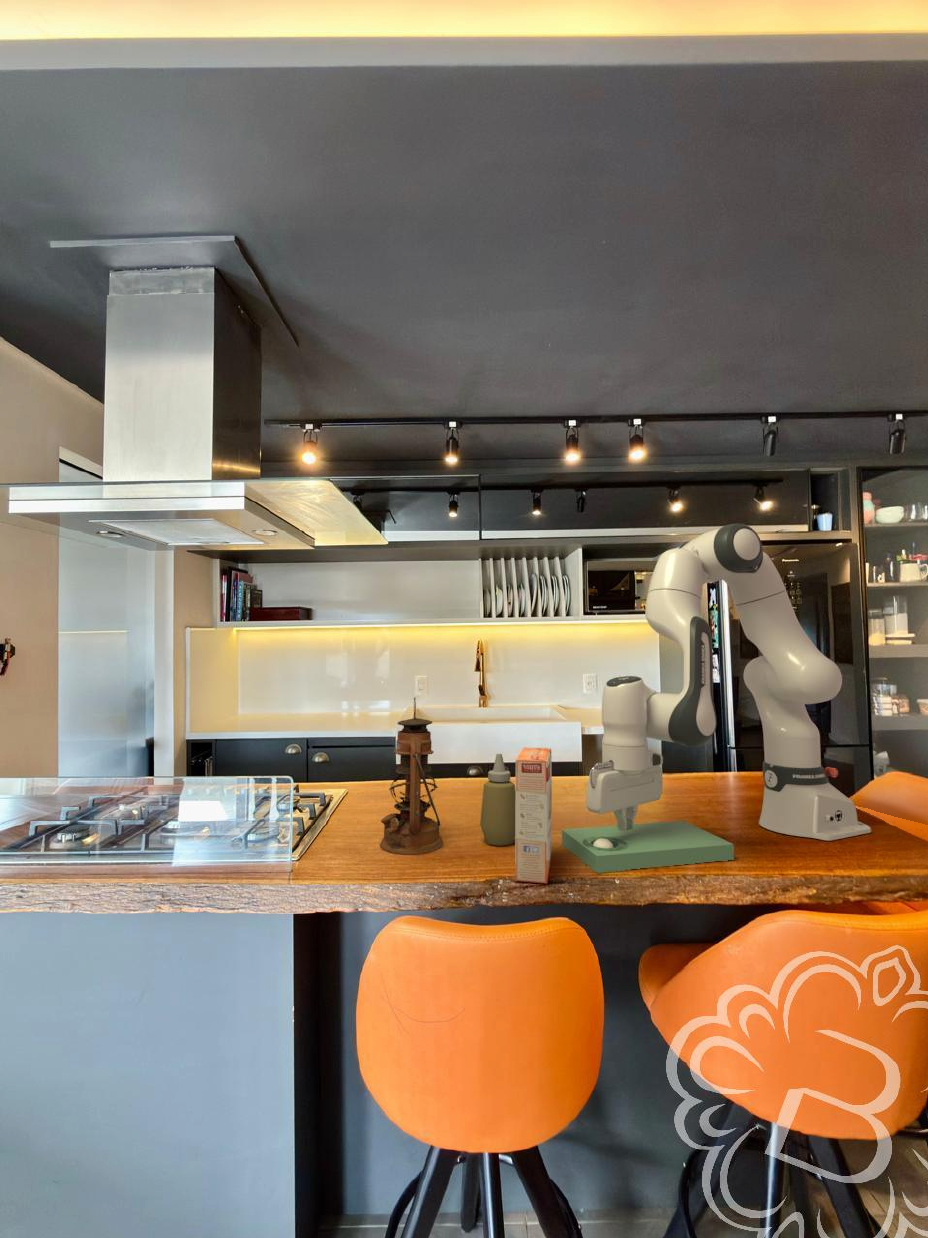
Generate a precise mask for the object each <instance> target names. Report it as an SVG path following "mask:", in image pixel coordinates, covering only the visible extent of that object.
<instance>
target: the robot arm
mask: <svg viewBox="0 0 928 1238" xmlns="http://www.w3.org/2000/svg"><path fill="white" fill-rule="evenodd" d="M718 581H724V582H725V583H726V585H727V586H728V588H729V592H730V596H731V599H732V602H733V606H734V608H735V611H736V613H737V616H738V619H739V623H740V624H741V627H742V630H743V633H744V636H746V639H748V640H749V641H750V642H751V643H752V644H754V645H755V646H756V647H757V649H758V650H759V652H760V653H761V654H762V655H760V656H758V657H755V658H752V660H750V661H749V662H748V663H747V664H746V665H745V668H744V671H743V682H744V684H745V686H746V688H747V689H748V690H749V691H750V693H751V695H752V697H753V698H754V701H755V706H756V708H757V711H758V713H759V717H760V721H761V725H762V733H763V734H762V735H763V751H764V760H763V762H762V777H763V782H764V790H763V798H762V799H763V801H762V808H761V811H760V812H761V813H760V817H759V820H758V825H759V826H761V827H763V828H764V829H767V830H769V831H772V832H776V833H779V834H782V835H783V834H785V835H789V836H795V837H803V838H810V839H811V838H812V839H816V840H817V839H818V840H822V841H827V842H828V841H829V842H830V841H836V840H840V839H845V838H849V837H851V838H852V837H855V836H859V835H864V834H865V835H866V834H869V833H872V828H871V827H870V826H869V825H867V824H866V823H863V822H861V821H858V813H857V808H856V805H855V804H854V802H853V801H852V800H851V799H850V798H849V797H847V795H845V794H844V793H842V792H841V791H840V790H838V789H837V788H836V787H835V786H833V785H832V784H831V783H830V780H829V778H828V777H832V778H837V777H838V776H839V770H838V768H835V767H830V766H826V767H823V765H822V759H821V735H820V730H819V729H818V727H817V726H816V724H815V723H814V722H813V721H812V719H811V718H810V715H809V713H808V711H807V707H806V706H805V705H813V704H819V703H824V702H828V701H831V700H833V699H834V698H835V697H836V696H837V695H838V694H839V692H840V690H841V688H842V684H843V676H842V672H841V669H840V668H839V666H838V665H837V664H836V663H835V662H834V661H833V660H831V658H829V657H827V656H826V655H825V654H823V653H822V652H821V651H820V650H819V649H818V647H816V645H815V644H814V642H813V641H812V639H811V638H810V637H809V636H808V634H806V631H805V630H804V629H803V627H802V626H801V623H800V622H799V619H798V618H797V616H796V613H795V610H794V607H793V604H792V602H791V599H790V597H789V595H788V592H787V590H786V587H785V584H784V582H783V580H782V577H781V575H780V573H779V571H778V569H777V568H776V565H775V564H774V562H773V561H772V559H771V557H770V556H769V555H768V554H767V553H766V552H765V551H764V547H763V543H762V541H761V538H760V536H759V534H758V533H757V532H756V531H755V529H753V528H752V527H751V526H750V525H747V524H745V523H731V524H726V525H723V526H722V527H720V528H716V529H713V530H709V531H707V532H705V533H702V534H700V535H699V536H697V537H696V538H694V539H692V540H690V541H686V542H685V543H683V544H681V545H680V546H679V547H678V548H671V549H668V550H665V552H663V553H662V554H661V555H660V556H659V557H658V559H657V562H656V565H655V566H654V569H653V572H652V575H651V579H650V582H649V586H648V592H647V597H646V601H645V608H644V609H645V610H644V611H645V619H646V621H647V623H648V624H649V626H650V627H651V629H652V630H653V631H654V632H656V633H657V634H659V635H660V636H662V637H664V638H666V639H668V640H671V641H673V642H676V643H677V644H679V646H680V648H681V650H682V653H683V687H682V690H681V692H679V693H669V692H668V693H665V692H658V691H657V690H654V689H652V688H651V687H648V686H647V684H645V682H644V680H643V678H642V677H639V676H635V675H626V676H618V677H613V678H610V679H609V680H607V681H606V682H605V684H604V687H603V691H602V696H601V697H602V699H601V723H602V727H603V735H602V739H601V756H602V757H601V759H602V760H601V761H602V762H596V763H594V765H593V766H592V768H591V770H590V772H589V775H588V778H587V784H586V796H585V805H586V809H588V811H589V812H591V813H594V814H598V815H605V814H609V813H613V815H614V817H615V819H616V821H617V825H618V829H619V830H621V831H626V830H629V829H633V828H634V824H635V819H636V816H637V814H638V811H639V806H640V805H643V804H647V803H652V802H656V801H659V800H660V799H661V797H662V795H663V790H664V789H663V782H664V781H663V769H662V767H661V766H662V765H663V763H664V756H663V754H660V753H658V752H655V751H653V750H650V749H649V746H648V745H649V743H648V739H653V740H658V741H663V742H670V743H675V744H678V745H681V746H685V747H690V748H694V749H695V748H698V747H701V746H702V745H704V744H705V743H707V742H708V741H709V740H710V739H711V738H712V736H714V733H715V732H716V729H717V724H718V720H717V719H718V718H717V713H716V712H717V711H716V706H715V702H714V700H715V699H714V676H713V675H714V674H713V672H714V666H713V665H714V664H713V663H714V662H713V659H714V658H713V640H712V639H713V637H712V631H711V628H710V624H709V623H708V621H706V620H705V619H704V618H703V617H702V611H701V604H702V595H703V587H704V585H705V584H708V583H709V584H710V583H714V582H718Z"/></svg>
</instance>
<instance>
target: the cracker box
mask: <svg viewBox="0 0 928 1238" xmlns="http://www.w3.org/2000/svg"><path fill="white" fill-rule="evenodd" d="M552 765H553V764H552V749H551V748H547V747H523V748H522V749H521V751H519V754H518V755H517V757H516V758H515V794H516V800H515V839H514V844H515V847H514V849H515V851H514V856H515V857H514V858H515V859H514V865H515V866H514V870H515V871H514V876H515V881H516V882H522V883H523V882H524V883H535V884H536V883H537V884H548V881H549V880H548V879H549V873H550V866H551V860H552V832H553V831H552V827H553V826H552V824H553V823H552V821H553V820H552V814H553V813H552V810H553V809H552V808H553V807H552V802H553V799H552V798H553V797H552V795H553V794H552V793H553V791H552V789H553V788H552V787H553V785H552V783H553V780H552V778H553V777H552V771H553V770H552Z"/></svg>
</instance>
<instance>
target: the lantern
mask: <svg viewBox="0 0 928 1238" xmlns="http://www.w3.org/2000/svg"><path fill="white" fill-rule="evenodd" d="M413 704H414V705H413V718H409V719H404V720H400V721H397V725H399V726H402V728H401V730H398V731H397V739H396V745H395V746H396V748H395V750H393V753H394V754H396V755H398V756H400V762H399V763H400V764H399V765H397V767H396V769H395V772H396V773H398V774H399V775H398V776H396V777H395V779H394V780H392V782H391V784H390V787H389V789H388V791H390V794H391V796H392V798H393V799H394V801H395V804H394V805H393V808H394V809H395V810H397V811H399V813H398V812H394V813H390V814H387V815H386V816H384V817H383V818H382V819H380V822H381V824H383V825H384V827H383V838H382V840H381V841H380V843H379V847H380V849H381V850H383V851H385V852H387V853H390V854H396V855H414V856H415V855H421V854H428V853H432V852H434V851H437V850H439V849H440V848H442V847H443V845H444V841H443V839H442V837H441V836H440V826H441V821H440V818H439V815H438V812H437V809H436V806H435V803H434V801H433V797H432V794H431V793H433V792H434V791H436V789H438V786H437V784H436V780H435V778H434V777H433V776H431V775H430V774H428V773H430V772H431V771H433V769H432V767H431V765H429V755H432V754H434V750H432V744H433V743H432V739H431V735H432V734H431V731H429V730H428V728H427V726H429V725H431V724H433V721H432V720H429V719H424V718H418V717H417V715H416V714H417V703H416V697H413ZM425 777H426V778H428V779H430V780H432V782H428V781H427V779H426V778H425ZM404 778H405V781H404V782H402V783H397V782H398V781H399V779H400V781H401V780H402V779H404ZM421 780H422V781H421ZM395 783H397V784H395ZM394 784H395V785H394ZM421 784H422V785H424V787H425V790H426V794H422V795H421V792H422V791H421V788H422V785H421ZM428 785H429V786H431V787H433V788H431V789H430V788H429V786H428ZM402 786H404V787H405V790H404V792H402V791H399V794H400V795H402V796H397V795H396V792H395V788H398V787H402ZM427 796H428V799H429V800H428V801H424V799H425V797H426V798H427ZM395 798H399V799H400V800H402V801H398V800H397V799H395ZM430 808H432V809H433V812H434V814H435V817H436V820H437V821H436V820H434V819H432V818H430V817H427V816H426V815H425V814H426V813H427V812H428V809H430Z"/></svg>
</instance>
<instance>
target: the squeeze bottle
mask: <svg viewBox="0 0 928 1238" xmlns="http://www.w3.org/2000/svg"><path fill="white" fill-rule="evenodd" d="M487 778H488V779H487V780H488V781H485V782H484V784H483V790H482V791H483V792H482V801H481V809H480V810H481V812H480V820H479V821H480V828H481V832H482V834H483V837H484V838H483V839H484V841H485V842H486V843H487V844H489V845H493V846H509V845H511V844H513V843H515V800H516V794H515V785H516V783H514V782H512V781H511V771H509V770H506V767H505V763H504V758H503V754H502V753H497V754H495V759H494V765H493V769H491V770H489V771H488V772H487Z"/></svg>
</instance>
